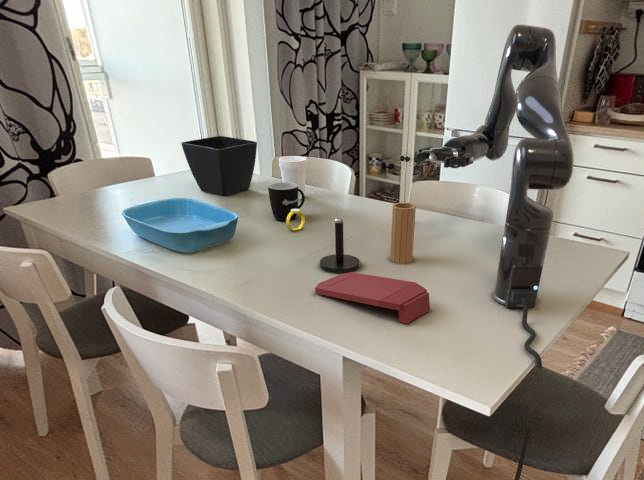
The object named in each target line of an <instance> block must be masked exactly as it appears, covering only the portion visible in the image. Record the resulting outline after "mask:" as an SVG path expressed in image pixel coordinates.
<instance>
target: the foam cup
mask: <svg viewBox="0 0 644 480" xmlns="http://www.w3.org/2000/svg"><path fill="white" fill-rule="evenodd" d="M278 166H279V168H280V173H281V174H280V175H281V178H282V182H290V183H295V184H297V185H298V189H300V190H301V191H302V192H303V193H304V194H305V193H306V192H305V191H306V179H307V177H306V175H307V166H308V159H307V157H305V156H300V155H287V156H281V157H279V158H278ZM298 200H302V195H301V193H300V192H299V191H298Z"/></svg>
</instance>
